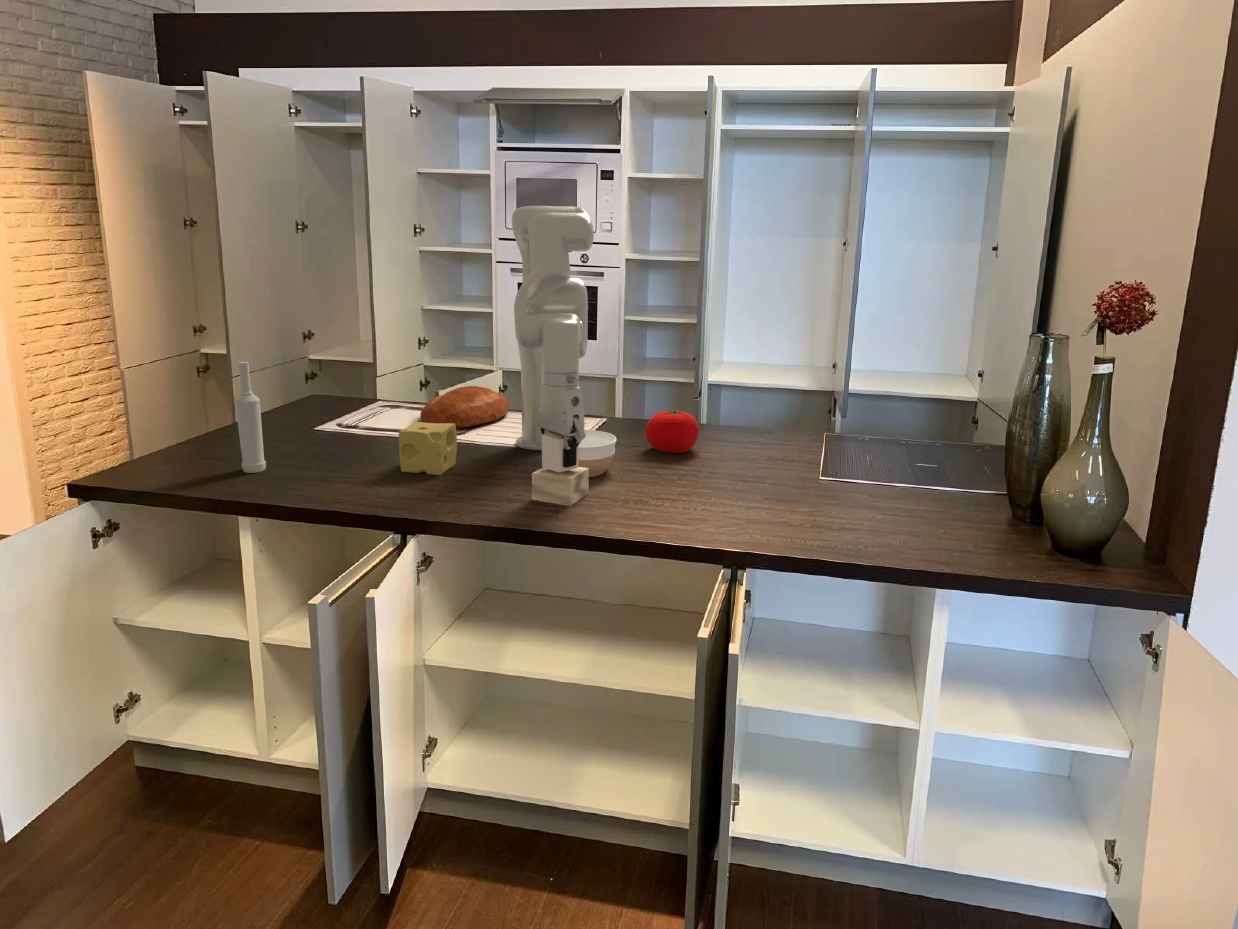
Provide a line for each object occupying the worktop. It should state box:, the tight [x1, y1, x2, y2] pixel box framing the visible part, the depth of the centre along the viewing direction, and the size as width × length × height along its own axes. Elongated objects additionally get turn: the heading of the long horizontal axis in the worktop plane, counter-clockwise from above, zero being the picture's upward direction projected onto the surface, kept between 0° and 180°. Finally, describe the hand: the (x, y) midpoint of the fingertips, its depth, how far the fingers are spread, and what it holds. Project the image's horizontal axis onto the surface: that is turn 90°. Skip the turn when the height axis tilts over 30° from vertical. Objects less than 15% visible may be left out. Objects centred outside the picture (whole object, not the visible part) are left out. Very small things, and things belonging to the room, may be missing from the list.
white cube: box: [541, 431, 579, 472], centre depth 191 cm, size 6×6×8 cm
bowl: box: [570, 429, 617, 478], centre depth 211 cm, size 16×16×8 cm
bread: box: [419, 385, 510, 429], centre depth 258 cm, size 23×32×9 cm
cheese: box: [398, 421, 458, 476], centre depth 211 cm, size 10×11×10 cm
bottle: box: [234, 361, 267, 474], centre depth 204 cm, size 5×5×25 cm
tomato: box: [644, 409, 700, 454], centre depth 229 cm, size 14×13×10 cm
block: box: [531, 467, 590, 507], centre depth 193 cm, size 9×9×6 cm
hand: (560, 462), depth 192 cm, fingers closed on white cube, 5 cm apart
